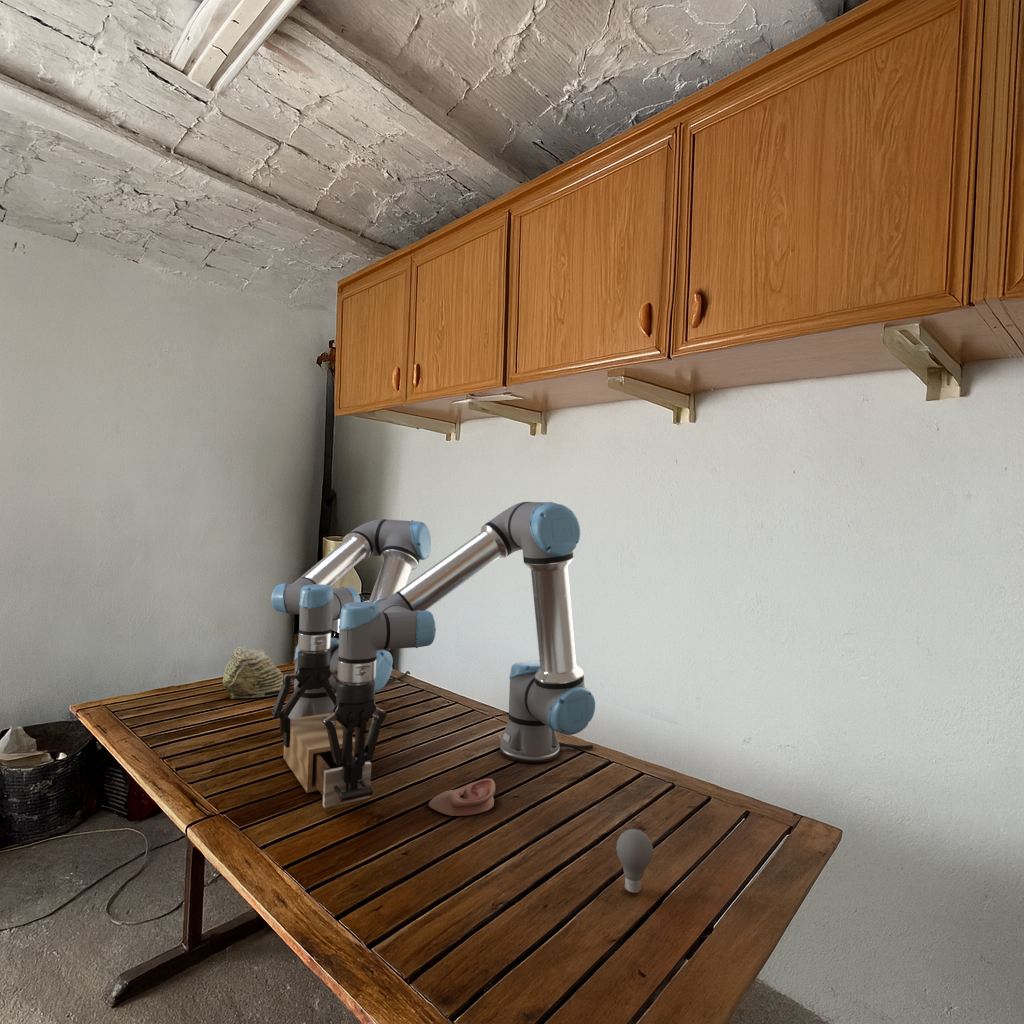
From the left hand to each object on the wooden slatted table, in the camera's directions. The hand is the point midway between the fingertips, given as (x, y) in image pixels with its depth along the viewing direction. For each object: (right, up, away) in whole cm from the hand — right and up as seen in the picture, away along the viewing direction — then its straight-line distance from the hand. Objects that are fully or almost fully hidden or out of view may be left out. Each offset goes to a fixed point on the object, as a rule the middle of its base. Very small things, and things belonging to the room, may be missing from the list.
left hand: (311, 741), depth 152 cm
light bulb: (+68, -8, -46) cm, 83 cm away
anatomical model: (+38, -6, -19) cm, 43 cm away
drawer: (+11, -4, -17) cm, 20 cm away
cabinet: (+3, -5, -5) cm, 8 cm away
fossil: (-32, -2, +46) cm, 56 cm away
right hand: (+16, -2, -24) cm, 29 cm away
